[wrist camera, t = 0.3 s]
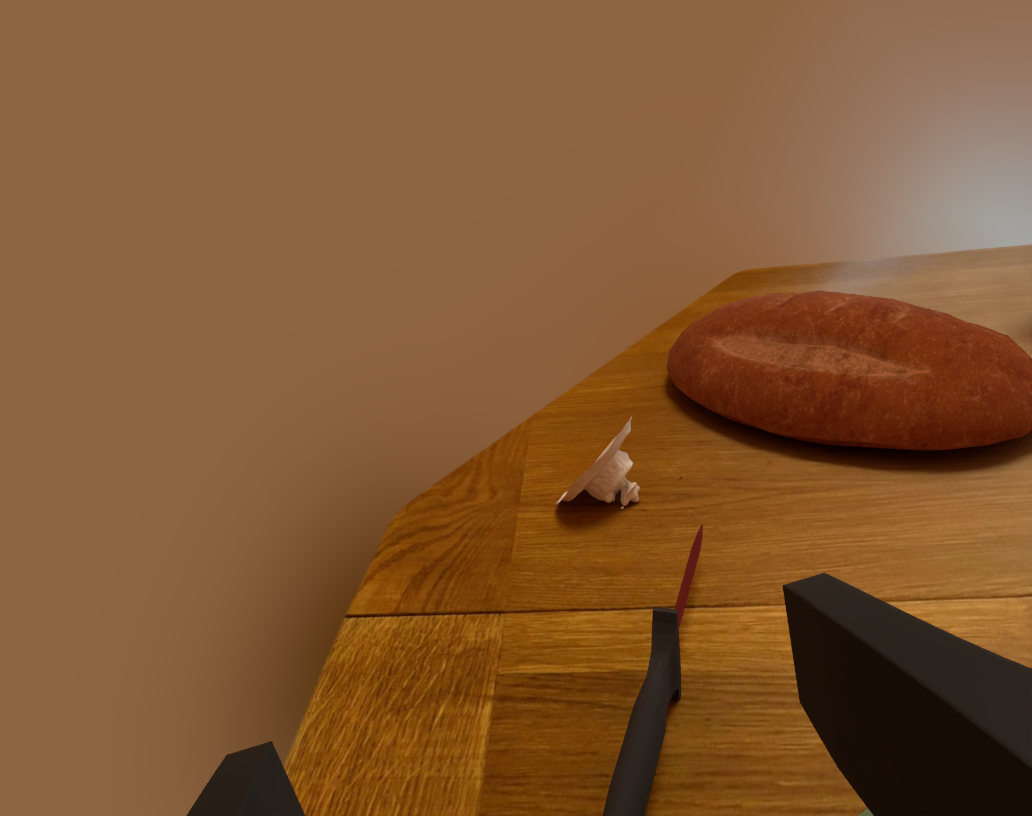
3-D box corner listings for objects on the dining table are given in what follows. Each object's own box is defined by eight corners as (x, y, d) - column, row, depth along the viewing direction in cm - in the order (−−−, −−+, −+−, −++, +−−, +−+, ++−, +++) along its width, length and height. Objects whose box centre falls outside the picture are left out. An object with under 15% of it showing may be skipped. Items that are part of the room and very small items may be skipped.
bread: (996, 507, 52) (1012, 378, 48) (608, 408, 73) (600, 314, 70) (1088, 387, 65) (1106, 280, 62) (739, 334, 87) (738, 253, 84)
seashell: (613, 552, 59) (604, 517, 52) (554, 514, 61) (538, 476, 54) (672, 466, 61) (671, 421, 54) (613, 432, 63) (605, 385, 56)
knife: (631, 924, 30) (622, 828, 28) (593, 914, 30) (581, 819, 28) (716, 560, 50) (714, 489, 48) (692, 557, 50) (689, 487, 49)
